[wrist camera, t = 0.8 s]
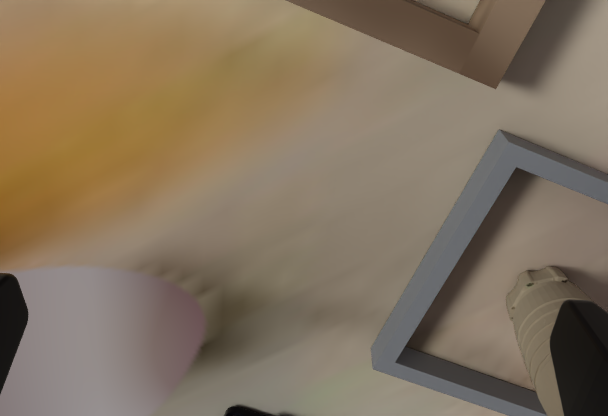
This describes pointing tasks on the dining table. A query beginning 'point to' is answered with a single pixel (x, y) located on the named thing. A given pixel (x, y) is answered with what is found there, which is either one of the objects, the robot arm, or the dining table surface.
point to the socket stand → (441, 31)
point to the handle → (540, 327)
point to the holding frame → (443, 257)
